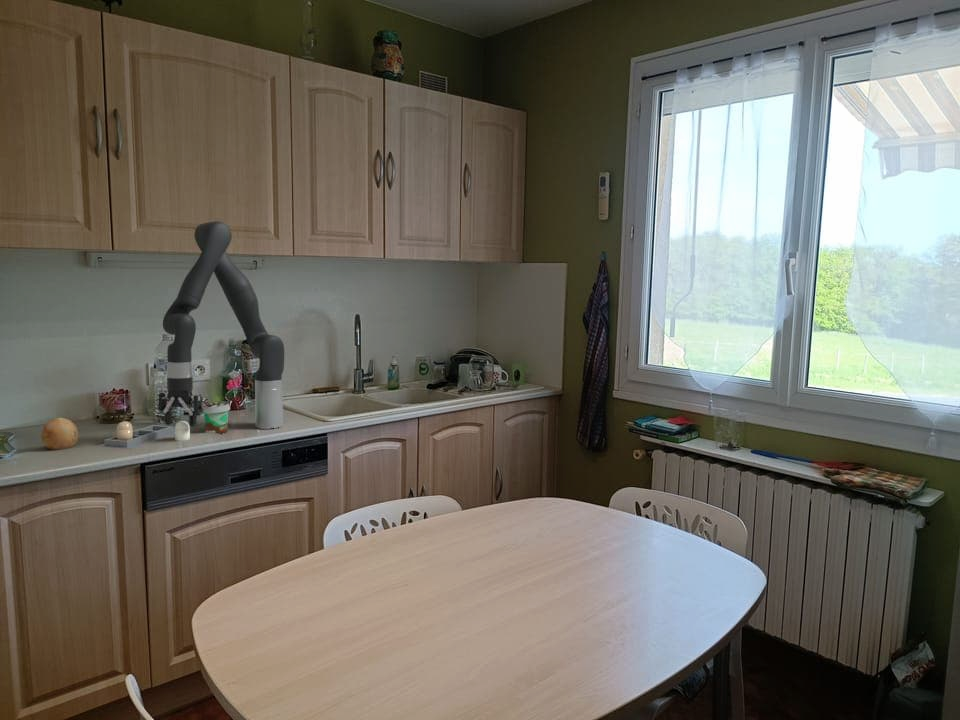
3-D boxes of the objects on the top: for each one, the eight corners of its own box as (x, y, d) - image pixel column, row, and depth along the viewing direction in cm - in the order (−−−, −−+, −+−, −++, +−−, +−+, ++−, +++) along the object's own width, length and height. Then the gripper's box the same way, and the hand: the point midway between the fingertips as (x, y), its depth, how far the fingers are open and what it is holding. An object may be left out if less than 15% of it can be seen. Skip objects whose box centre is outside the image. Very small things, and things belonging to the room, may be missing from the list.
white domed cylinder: (180, 440, 218) (180, 419, 218) (193, 440, 217) (192, 419, 217) (172, 443, 214) (171, 421, 213) (184, 444, 213) (183, 422, 212)
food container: (222, 437, 223) (221, 407, 222) (204, 436, 224) (203, 407, 222) (236, 428, 236) (235, 401, 234) (219, 428, 236) (218, 400, 235)
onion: (73, 453, 199) (71, 421, 198) (35, 455, 197) (33, 421, 196) (84, 445, 209) (83, 414, 207) (49, 446, 206) (47, 415, 205)
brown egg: (124, 441, 211) (123, 419, 210) (136, 442, 210) (135, 420, 209) (113, 444, 207) (112, 422, 206) (126, 445, 206) (125, 423, 205)
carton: (149, 432, 228) (149, 424, 228) (181, 434, 226) (180, 426, 226) (96, 449, 205) (96, 440, 205) (130, 451, 203) (130, 442, 202)
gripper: (206, 375, 215) (207, 424, 217) (167, 372, 218) (168, 421, 220) (192, 378, 208) (192, 429, 210) (152, 375, 211) (153, 426, 213)
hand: (180, 425), depth 215 cm, fingers open, 8 cm apart
